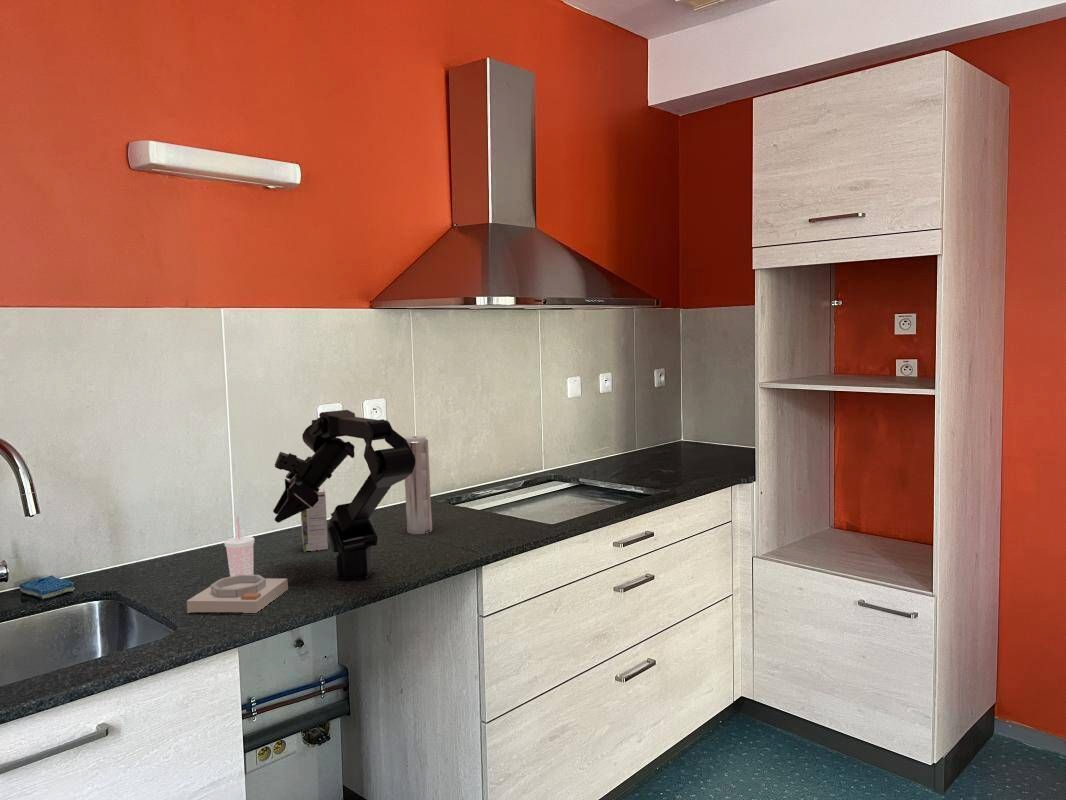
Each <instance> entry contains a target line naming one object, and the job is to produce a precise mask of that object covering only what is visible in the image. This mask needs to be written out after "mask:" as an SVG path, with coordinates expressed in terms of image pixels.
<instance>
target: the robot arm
mask: <svg viewBox="0 0 1066 800" xmlns="http://www.w3.org/2000/svg"><path fill="white" fill-rule="evenodd" d="M339 437H349V438H350V437H351V438H357V439H363V440H364V443H365V447H364V452H363V458H364V460H365V462H366V464H367V468H368V470H369V475H368V476H367V478H366V479H365V480H364V482H363V484H362V485H361V487H360V488H359V490H358V491H357V493H356V494H355V496H354V497H353V499H352V500H351V502H348V503H343V504H338V505H336V506H335V508H334V510H333V512H331V513H330V516H331V517H330V519H329V522H327V535H328V538H329V539H328V540H329V544H330V547H331V550H332V552H333V553H337V555H336V558H335V559H336V574H337V576H336V580H367V579H368V578H369V577H370V576H371V575H372V574H373V573H374V572H375V568H373V566H372V549H371V547H376V546H377V545H378V539H379V538H378V535H377V534H376V531H375V529H374V526H373V524H372V521H371V520H370V519H371V518H370V517H371V516H372V514H373V513H374V511H375V510H376V509H377V507H378V506H379V504H380V503H381V501H382V500H383V499H384V498H385V496H386V494H387V493H388V491H389V490H390V489H391V488H392V486H394V485H396V484H398V483H401V482H402V481H405V479H406V478H407V477H408V476H409V475H410V474H412V472H413V470H414V467H415V456H414V454H413V452H412V450H411V448H410V446H409V444H408V442H407V440H406V439H404V437H403V436H402V435H401V434H399V433H398V432H397V431H396V430H394V429H393V427H392V424H391V423H390V422H389V420H387V419H373V418H366V417H357V416H356V413H355V412H353V411H351V410H348V409H343V410H331V411H322V412H320V413H319V417H317V418H316V419H312V420H311V424H310V425H308V426H307V427H306V428H305V429H304V430H303V433H302V442H303V443H304V444H305V445H306V446H307V447H308V448H309V449H310V450H312V452H313V453H314V454H312V456H311V455H309V456H307V457H306V458H305V459H302V458H299V457H298V455H296V454H293V453H291V452H289V453H286V452H282V451H279V453H278V455H277V458H276V461H275V464H274V467H275V468H276V469H278V470H281V471H282V470H284V471H287V472H288V473H287V474H286V475H285V478H284V487H285V488H284V491H283V492H282V494H281V495H280V498H279V500H278V501H277V503H276V505H275V507H274V508H273V510H272V512H273V513H274V514H275V515H276V516H275V518H274V522H276V523H277V524H278V523H280V522H283V521H285V520H287V519H289V518H291V517H293V516H295V515H298V514H299V513H300V514H301V512H302V511H304V510H306V509H309V508H310V506H311V507H313V506H314V505H315V504H316V503H317V502H318V501H319V500H318V493H317V492H318V491H319V488H321V486H322V485H324V483H325V482H326V480H330V478H332V476H333V475H332V474H333V473H334V472H335V470H336V469H337V468H338V467H339V466H340V465H341V464H342V463H343V462H344V460H345V459H346V458H347V457H348V456H349V457H350V458H351V459H354V458H355V445H354V444H353V443H352V442H351V441H344V439H341V438H339ZM378 440H384V441H385V443H387V444H388V445H389V446H390V447H391V448H384V449H377V450H375V449H374V448H373V446H372V443H373V441H378Z"/></svg>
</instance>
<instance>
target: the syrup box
mask: <svg viewBox="0 0 1066 800" xmlns="http://www.w3.org/2000/svg"><path fill="white" fill-rule="evenodd" d="M317 493H318V500H319V501H318V502H317V503H316V504H315V505H314V506H313V507H311V506H310V508H309V509H306V510H304V511H302V512H300V516H301V517H300V519H301V520H300V521H301V537H302V541H301V542H302V549H303V551H304V552H305V553H307V552H306V551H311V552H317V551H316V550H318V551H324V550H325V551H326V550H329V543H328V541H329V539H328V538H329V536H328V529H327V528H328V519H327V500H326V498H327V497H326V491H325V489H324V488H323V487H319V491H318V492H317Z"/></svg>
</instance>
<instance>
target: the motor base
mask: <svg viewBox="0 0 1066 800" xmlns="http://www.w3.org/2000/svg"><path fill="white" fill-rule="evenodd" d="M288 585H289V584H288V578H270V577H268V578H265V577H263V576H261V575H260V574H253V575H236V576H231V577H230V576H227V577H223V578H218V580H217V581H215V582H213V583H211V584H210V586H208V587H207V588H205V589H204V590H202V591H200V592H199V593H197V594H196V595H194V596H192V597H191V598H189V599H188V600H186V609H187V612H186V613H187V614H188V613H191V612H193V613H194V612H243V613H257V612H258V611H260V610H261V609H263V608H264V607H265V606H267V605H268V604H269V603H270V602H272V601H273V600H275V599H276V598H278V597H279V596H280V595H281V596H283V595H284V594H285V593H286V592H285V591H287V590H288V591H289V586H288ZM288 591H287V592H288ZM284 592H285V593H284ZM283 593H284V594H283ZM282 594H283V595H282ZM281 596H280V597H281ZM280 597H279V598H280ZM279 598H278V599H279ZM276 600H277V599H276ZM276 600H275V601H276ZM272 603H273V602H272ZM268 606H269V605H268ZM268 606H267V607H268ZM263 610H264V609H263Z"/></svg>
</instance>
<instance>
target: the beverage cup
mask: <svg viewBox="0 0 1066 800" xmlns="http://www.w3.org/2000/svg"><path fill="white" fill-rule="evenodd" d="M240 526H241V525H240V517H239V516H237V517H236V527H237V537H232V538H229V539H226V540H225V541H224V542H223V543H224V547H225V548H226V554H227V555H226V556H227V563H228V571H229V577H231V576H236V575H254V544H255V537H254V536H253V537H252V536H241V529H240V528H241V527H240Z"/></svg>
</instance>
